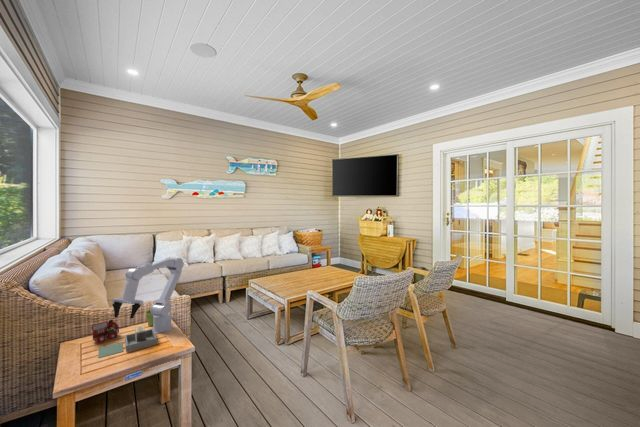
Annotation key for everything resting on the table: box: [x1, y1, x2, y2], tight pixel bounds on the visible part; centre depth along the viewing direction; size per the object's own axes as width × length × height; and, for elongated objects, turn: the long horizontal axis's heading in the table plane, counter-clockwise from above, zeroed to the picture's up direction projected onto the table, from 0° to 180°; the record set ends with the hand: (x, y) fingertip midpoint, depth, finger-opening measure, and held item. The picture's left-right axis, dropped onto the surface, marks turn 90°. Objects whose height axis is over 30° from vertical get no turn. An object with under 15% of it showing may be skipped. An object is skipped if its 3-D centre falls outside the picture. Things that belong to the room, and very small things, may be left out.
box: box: [134, 325, 146, 343], centre depth 151 cm, size 4×9×7 cm, turn 38°
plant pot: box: [144, 309, 153, 327], centre depth 175 cm, size 9×9×9 cm
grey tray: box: [124, 328, 158, 353], centre depth 151 cm, size 14×23×4 cm, turn 38°
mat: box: [97, 341, 124, 359], centre depth 143 cm, size 10×12×1 cm
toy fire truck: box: [90, 319, 120, 344], centre depth 155 cm, size 7×12×10 cm, turn 142°
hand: (123, 317), depth 147 cm, fingers open, 7 cm apart
